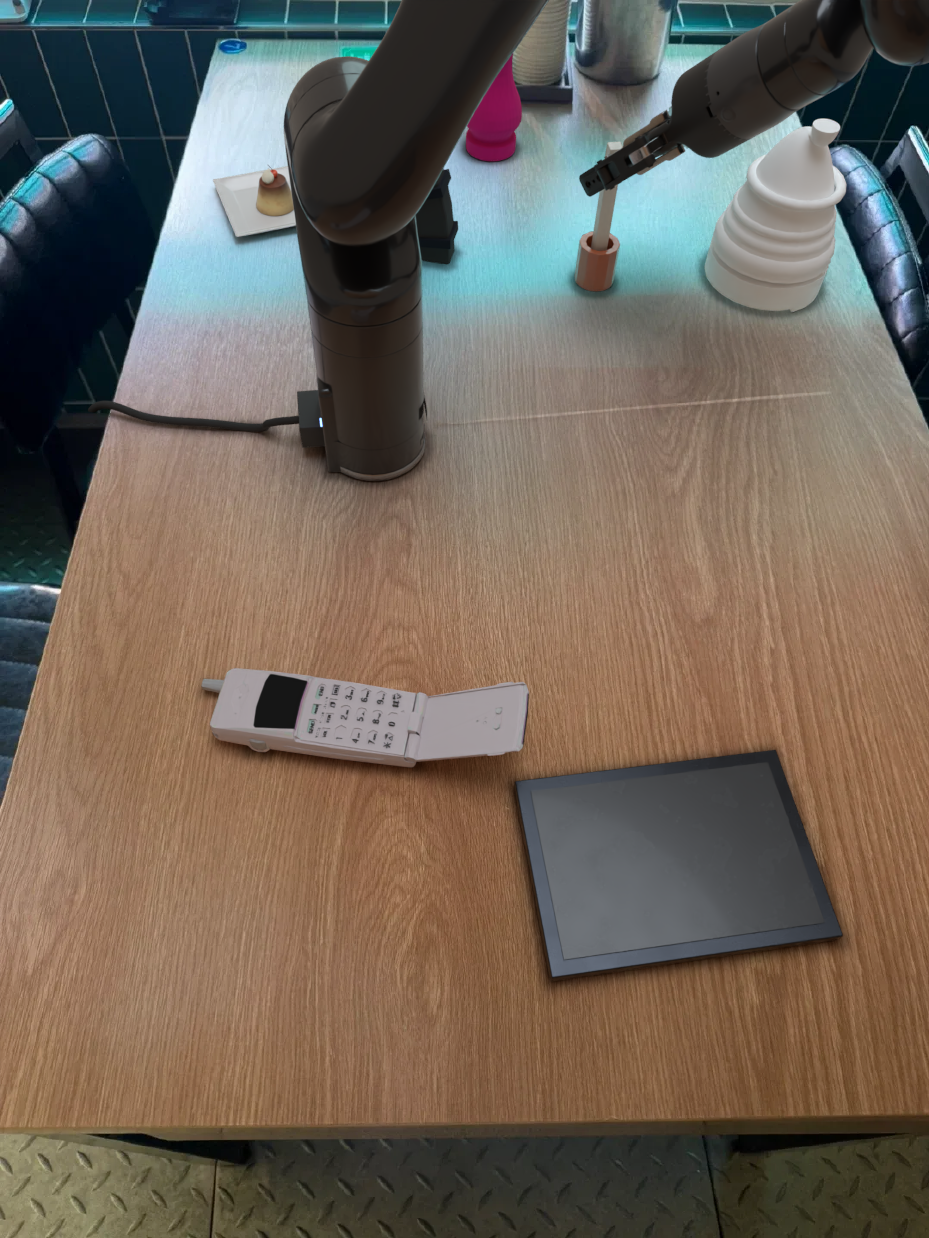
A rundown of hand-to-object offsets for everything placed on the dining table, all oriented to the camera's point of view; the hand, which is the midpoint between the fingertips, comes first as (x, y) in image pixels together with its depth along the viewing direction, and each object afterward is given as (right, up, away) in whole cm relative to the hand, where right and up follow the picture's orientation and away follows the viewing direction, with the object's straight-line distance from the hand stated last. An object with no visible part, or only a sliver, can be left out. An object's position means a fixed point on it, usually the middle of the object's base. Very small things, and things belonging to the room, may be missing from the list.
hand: (611, 168), depth 93 cm
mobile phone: (-23, -53, -21) cm, 62 cm away
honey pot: (+19, -6, +12) cm, 23 cm away
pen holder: (0, -7, +11) cm, 13 cm away
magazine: (-22, -3, +13) cm, 26 cm away
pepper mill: (-11, +15, +26) cm, 32 cm away
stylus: (0, -7, +10) cm, 13 cm away
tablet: (0, -62, -26) cm, 67 cm away
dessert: (-37, +4, +18) cm, 41 cm away
